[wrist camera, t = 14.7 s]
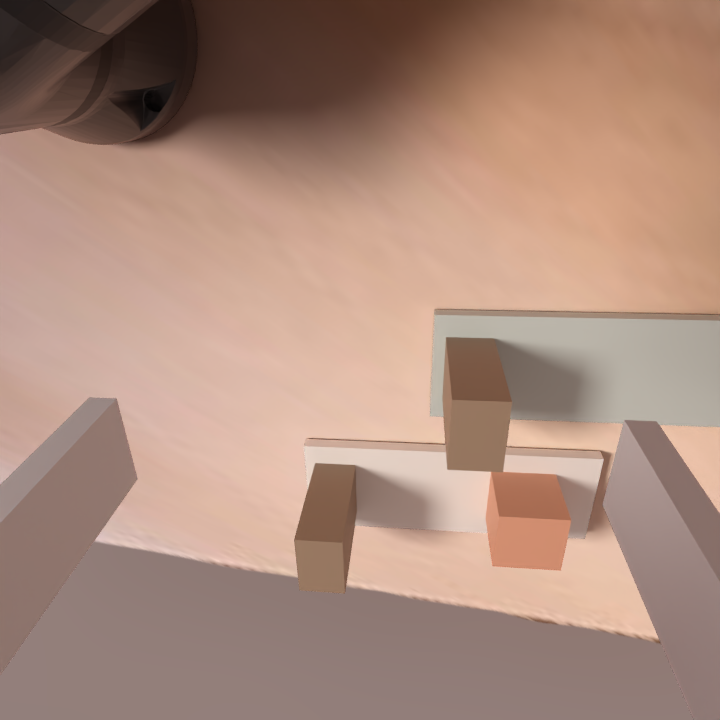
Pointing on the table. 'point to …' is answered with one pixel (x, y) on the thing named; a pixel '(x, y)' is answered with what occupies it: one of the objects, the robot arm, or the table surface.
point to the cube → (526, 520)
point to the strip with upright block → (567, 374)
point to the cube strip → (412, 496)
